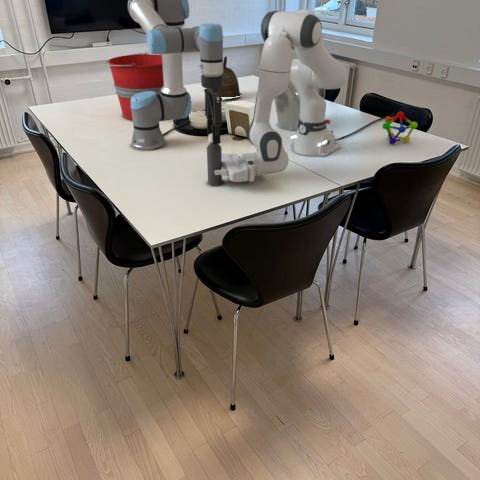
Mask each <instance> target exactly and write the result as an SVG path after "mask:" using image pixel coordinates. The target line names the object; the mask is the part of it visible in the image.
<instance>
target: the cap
mask: <svg viewBox="0 0 480 480" xmlns="http://www.w3.org/2000/svg"><path fill="white" fill-rule="evenodd" d="M207 141H208V142H212V143H213V137H212V134H209V135H207Z"/></svg>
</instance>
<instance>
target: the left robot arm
mask: <svg viewBox="0 0 480 480" xmlns="http://www.w3.org/2000/svg"><path fill="white" fill-rule="evenodd" d="M127 12H128V14H129V16H130V18H131V19H132V20H133V21H134V22H135V23H136V24H137V23H138V24H139V25H140V27H141V28H142V30H143V31H144V32H145V34H146V46H147V48H148V51H149V54H150V53H151V55H162V65H163V82H164V86H163V87H162V88H161V94H159V95H157V94H156V92H154V91H145V92H140V93H137V94H135V95H133V96H132V98H131V110H132V118H133V120H132V125H133V132H132V135H131V142H130V143H131V147H132V148H134V149H135V150H141V151H151V150H153V151H154V150H157V149H161V148H163V147H164V146H165V144H166V140H165V137H164V136H165V135H167V134H169V133H170V132H172V131H174V130H176V129H178V128H180V127H183V126H184V125H186V124H189V123H190V122H189V120H187V121H185V122H184V123H181V124H179V125H177V126H175V127H173V128H170V129H169V130H167V131H166V132H165V133H163V132H162V130H161V127H160V122H166V121H175V120H182V119H187V118H188V117H189V116H190V114H191V111H192V96H191V94H190V92H188V90H187V88H186V87H185V86H184V73H183V72H184V71H183V54H184V53H194V52H195V53H199V55H200V56H199V57H200V64H199V65H198V67H199V68H200V74H201V76H200V80H201V81H200V82H201V87H202V88H204V89H203V92H204V109H203V110H202V111H204V116H205V118H206V131H207V133H206V135H207V136H208V135H209V134H212V137H213V144H219V145H220V144H221V127H222V126H223V109H222V98H221V97H220V94H219V93H218V88H221V87H222V86H223V75H222V74H223V62H224V34H223V33H224V32H223V26H222V25H221V24H219V23H212V22H211V23H201V24H200V25H199V26H198V25H196V26H192V27H186V28H185V27H184V26H185V25H186V24H185V23H186V22H185V21H186V20H187V19H189V18H190V17H189V16H190V3H189V0H127Z"/></svg>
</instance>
